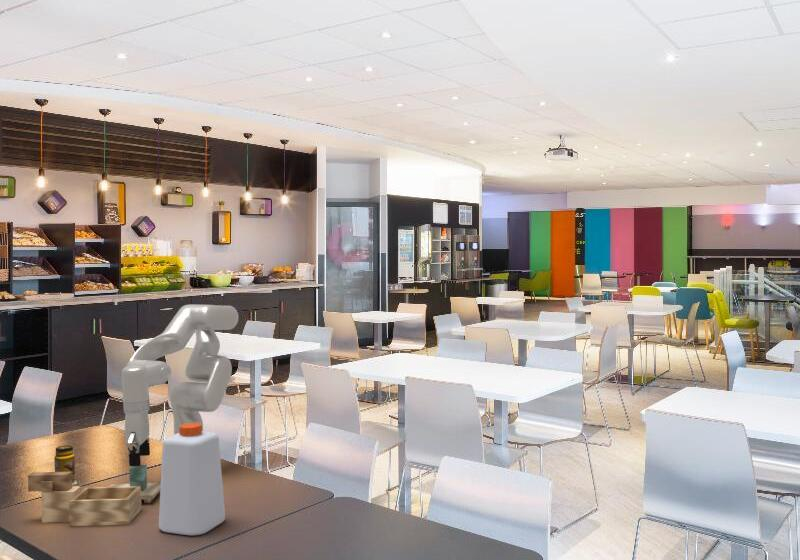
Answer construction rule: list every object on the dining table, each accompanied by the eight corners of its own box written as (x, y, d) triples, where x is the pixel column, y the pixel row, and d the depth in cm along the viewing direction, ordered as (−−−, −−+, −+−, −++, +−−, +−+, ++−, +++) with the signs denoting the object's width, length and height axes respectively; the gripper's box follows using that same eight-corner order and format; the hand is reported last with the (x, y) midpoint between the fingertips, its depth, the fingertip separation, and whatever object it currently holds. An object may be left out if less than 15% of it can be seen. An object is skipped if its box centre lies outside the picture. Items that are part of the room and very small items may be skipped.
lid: (163, 492, 233) (163, 460, 233) (152, 505, 221) (152, 472, 221) (112, 493, 232) (111, 462, 232) (98, 506, 220) (97, 473, 220)
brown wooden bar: (72, 487, 211) (72, 471, 211) (68, 490, 208) (67, 474, 208) (33, 488, 211) (32, 472, 211) (28, 491, 208) (27, 475, 208)
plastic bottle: (231, 519, 209) (229, 420, 208) (200, 538, 194) (198, 433, 193) (185, 513, 213) (183, 417, 212) (152, 532, 199) (149, 429, 198)
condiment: (78, 483, 242) (77, 447, 242) (49, 488, 238) (48, 451, 237) (74, 478, 249) (73, 443, 248) (46, 482, 244) (45, 446, 244)
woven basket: (141, 509, 217) (140, 471, 217) (128, 524, 205) (127, 483, 205) (54, 512, 216) (53, 473, 215) (36, 527, 204) (35, 485, 203)
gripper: (132, 399, 234) (136, 452, 236) (114, 414, 217) (118, 470, 219) (156, 398, 235) (159, 451, 236) (140, 413, 218) (144, 469, 219)
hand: (139, 460), depth 227 cm, fingers open, 9 cm apart
